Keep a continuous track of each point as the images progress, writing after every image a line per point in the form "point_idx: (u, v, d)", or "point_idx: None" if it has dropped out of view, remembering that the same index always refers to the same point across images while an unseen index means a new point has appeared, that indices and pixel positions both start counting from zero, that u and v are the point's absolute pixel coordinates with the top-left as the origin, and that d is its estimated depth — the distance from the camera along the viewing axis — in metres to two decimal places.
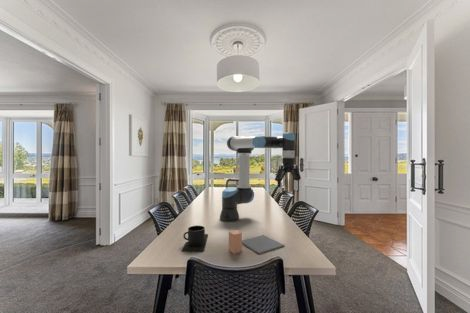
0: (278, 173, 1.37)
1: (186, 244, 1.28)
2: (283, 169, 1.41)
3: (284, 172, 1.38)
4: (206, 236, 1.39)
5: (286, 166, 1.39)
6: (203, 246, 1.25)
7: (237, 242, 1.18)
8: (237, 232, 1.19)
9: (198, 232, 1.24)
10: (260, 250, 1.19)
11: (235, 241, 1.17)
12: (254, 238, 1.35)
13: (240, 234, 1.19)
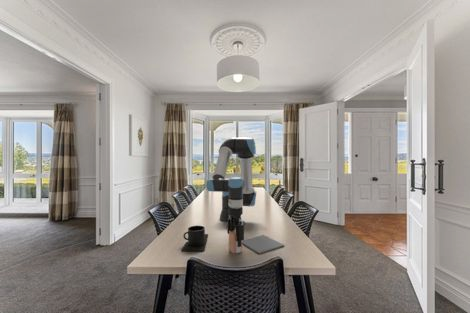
0: None
1: (186, 244, 1.28)
2: None
3: (230, 224, 1.22)
4: (206, 236, 1.39)
5: (230, 215, 1.21)
6: (203, 246, 1.25)
7: None
8: None
9: (198, 232, 1.24)
10: (260, 250, 1.19)
11: (235, 241, 1.17)
12: (254, 238, 1.35)
13: None
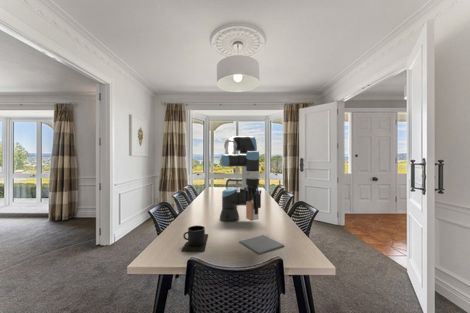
0: None
1: (186, 244, 1.28)
2: None
3: (248, 195, 1.32)
4: (206, 236, 1.39)
5: (248, 186, 1.31)
6: (203, 246, 1.25)
7: None
8: None
9: (198, 232, 1.24)
10: (260, 250, 1.19)
11: (252, 209, 1.27)
12: (254, 238, 1.35)
13: None
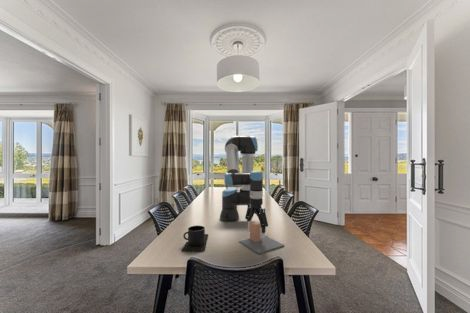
0: None
1: (186, 244, 1.28)
2: None
3: (250, 212, 1.35)
4: (206, 236, 1.39)
5: (251, 206, 1.34)
6: (203, 246, 1.25)
7: (258, 231, 1.30)
8: (257, 223, 1.32)
9: (198, 232, 1.24)
10: (260, 250, 1.19)
11: (256, 231, 1.30)
12: None
13: (260, 225, 1.31)
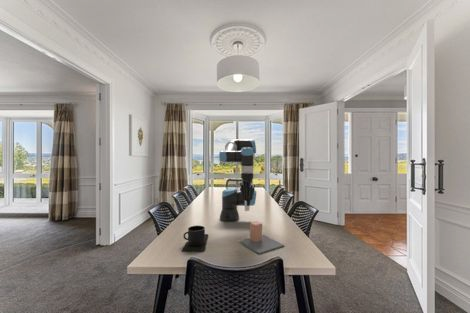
0: None
1: (186, 244, 1.28)
2: None
3: (243, 189, 1.40)
4: (206, 236, 1.39)
5: (242, 180, 1.41)
6: (204, 246, 1.25)
7: (258, 231, 1.30)
8: (257, 223, 1.32)
9: (198, 232, 1.24)
10: (260, 250, 1.19)
11: (256, 231, 1.30)
12: None
13: (260, 225, 1.31)
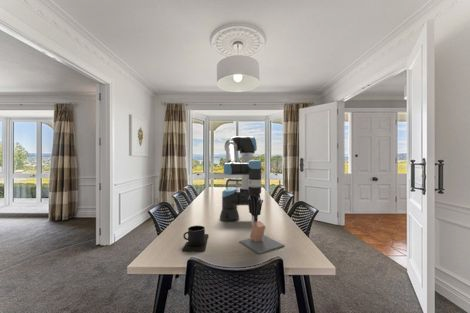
0: None
1: (187, 244, 1.28)
2: None
3: (251, 203, 1.34)
4: (206, 236, 1.39)
5: (250, 194, 1.35)
6: (204, 246, 1.25)
7: (260, 233, 1.29)
8: (261, 224, 1.29)
9: (198, 232, 1.24)
10: (260, 250, 1.19)
11: (258, 232, 1.28)
12: None
13: (263, 227, 1.29)
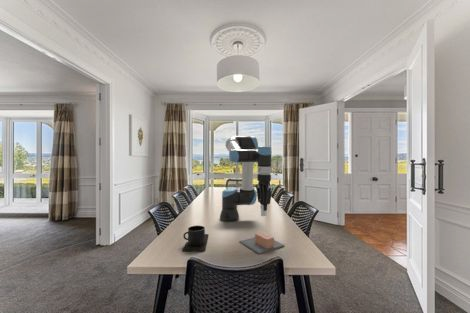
0: None
1: (187, 244, 1.28)
2: None
3: (260, 192, 1.27)
4: (207, 236, 1.39)
5: (259, 182, 1.28)
6: (204, 246, 1.25)
7: None
8: (271, 244, 1.23)
9: (198, 232, 1.24)
10: (260, 250, 1.19)
11: None
12: (254, 238, 1.35)
13: None
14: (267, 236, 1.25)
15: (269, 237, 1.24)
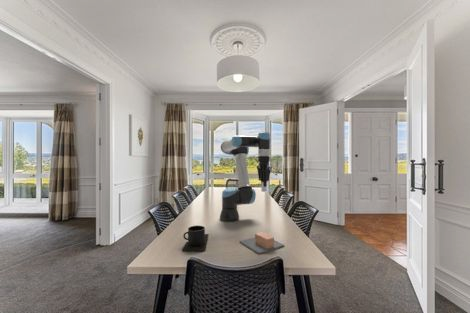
0: None
1: (187, 244, 1.28)
2: None
3: (260, 171, 1.50)
4: (207, 236, 1.39)
5: (259, 163, 1.51)
6: (204, 246, 1.25)
7: None
8: (271, 244, 1.23)
9: (198, 232, 1.24)
10: (260, 250, 1.19)
11: None
12: (254, 238, 1.35)
13: None
14: (267, 236, 1.25)
15: (269, 237, 1.24)
